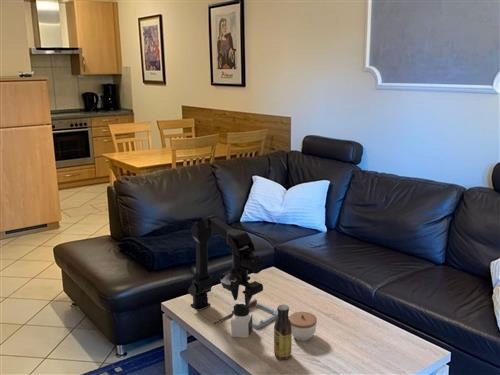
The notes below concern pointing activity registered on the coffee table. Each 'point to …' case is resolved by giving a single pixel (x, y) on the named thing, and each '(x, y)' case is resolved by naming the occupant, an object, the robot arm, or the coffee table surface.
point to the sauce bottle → (282, 334)
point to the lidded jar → (303, 325)
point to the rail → (223, 318)
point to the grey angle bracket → (269, 319)
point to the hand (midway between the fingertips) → (241, 302)
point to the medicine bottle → (241, 321)
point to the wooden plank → (249, 305)
